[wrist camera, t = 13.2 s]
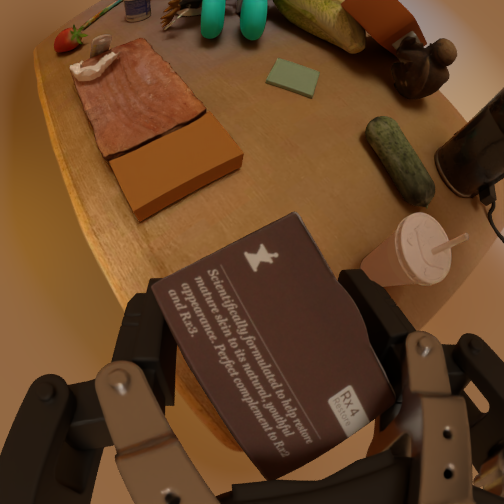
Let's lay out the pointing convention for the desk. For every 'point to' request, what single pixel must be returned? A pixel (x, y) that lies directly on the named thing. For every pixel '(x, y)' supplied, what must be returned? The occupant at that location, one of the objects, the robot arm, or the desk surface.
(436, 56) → the sculpture
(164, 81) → the brown wooden flat board
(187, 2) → the figurine
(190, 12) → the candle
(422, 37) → the rounded orange block
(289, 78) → the mat
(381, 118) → the vegetable
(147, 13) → the pill bottle
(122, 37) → the desk surface
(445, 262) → the smoothie
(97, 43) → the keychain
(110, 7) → the pencil
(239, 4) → the stone
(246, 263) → the box
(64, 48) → the fruit
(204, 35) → the donuts
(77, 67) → the false teeth
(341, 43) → the lettuce
